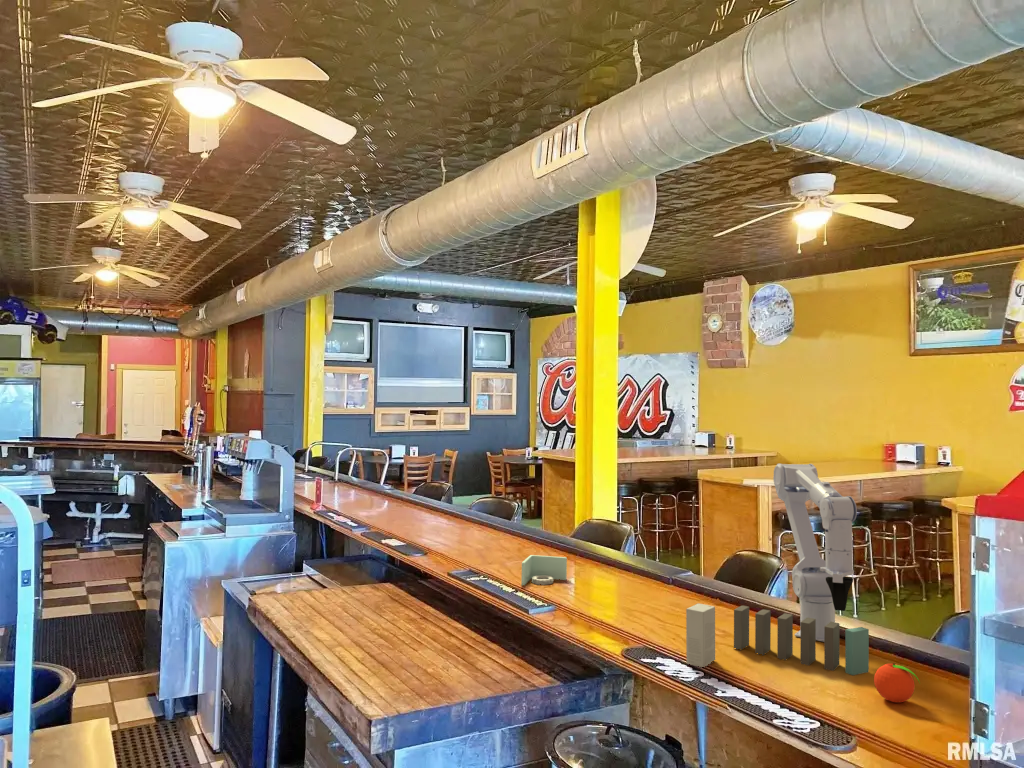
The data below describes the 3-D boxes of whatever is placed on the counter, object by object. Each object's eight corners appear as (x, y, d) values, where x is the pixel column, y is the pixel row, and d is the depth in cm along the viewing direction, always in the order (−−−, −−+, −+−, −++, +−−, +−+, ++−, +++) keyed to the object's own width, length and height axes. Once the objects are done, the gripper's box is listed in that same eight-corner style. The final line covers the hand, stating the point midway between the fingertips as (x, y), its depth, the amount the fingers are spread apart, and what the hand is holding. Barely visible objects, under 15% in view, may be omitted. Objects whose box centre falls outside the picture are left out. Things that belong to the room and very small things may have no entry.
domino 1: (733, 648, 171) (734, 609, 172) (741, 643, 175) (741, 605, 175) (741, 650, 170) (741, 611, 171) (749, 645, 174) (749, 606, 174)
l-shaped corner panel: (521, 587, 229) (521, 562, 229) (529, 578, 241) (530, 554, 241) (559, 590, 226) (560, 565, 226) (566, 580, 238) (566, 557, 238)
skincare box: (697, 656, 166) (697, 602, 166) (715, 661, 163) (716, 606, 163) (685, 663, 161) (685, 608, 161) (703, 668, 158) (704, 612, 159)
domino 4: (800, 663, 162) (800, 622, 162) (807, 657, 166) (807, 617, 166) (808, 665, 161) (809, 623, 161) (815, 659, 165) (815, 618, 165)
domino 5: (824, 668, 159) (824, 626, 159) (830, 662, 163) (830, 621, 163) (833, 670, 158) (833, 628, 158) (839, 664, 162) (839, 623, 162)
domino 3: (777, 658, 165) (777, 617, 165) (784, 653, 169) (784, 613, 169) (785, 660, 164) (785, 619, 164) (792, 654, 168) (792, 614, 168)
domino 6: (845, 672, 157) (845, 629, 157) (861, 669, 159) (861, 626, 159) (852, 675, 155) (852, 631, 156) (868, 672, 157) (868, 629, 158)
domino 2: (755, 653, 168) (755, 613, 169) (762, 648, 172) (762, 609, 172) (763, 655, 167) (763, 615, 167) (770, 650, 171) (770, 610, 171)
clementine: (925, 702, 142) (925, 664, 142) (915, 713, 136) (915, 674, 137) (879, 691, 147) (880, 655, 147) (869, 701, 142) (869, 663, 142)
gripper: (822, 544, 178) (823, 602, 177) (817, 552, 166) (818, 614, 164) (854, 546, 175) (855, 605, 174) (852, 554, 162) (853, 618, 161)
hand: (840, 610), depth 169 cm, fingers closed
